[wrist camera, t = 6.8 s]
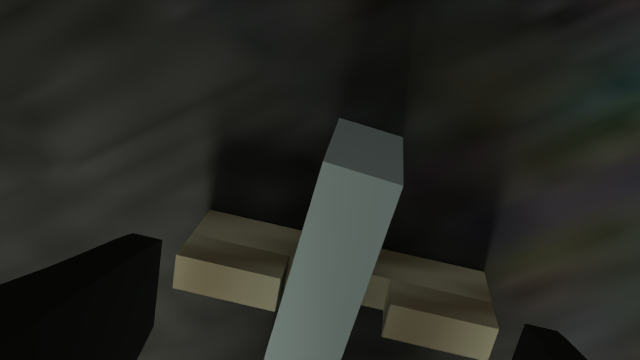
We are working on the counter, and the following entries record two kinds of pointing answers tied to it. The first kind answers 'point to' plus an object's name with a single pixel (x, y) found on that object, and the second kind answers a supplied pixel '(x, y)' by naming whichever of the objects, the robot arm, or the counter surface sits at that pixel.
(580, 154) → the counter surface
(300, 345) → the notched plate
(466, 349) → the birch board
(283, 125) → the counter surface
